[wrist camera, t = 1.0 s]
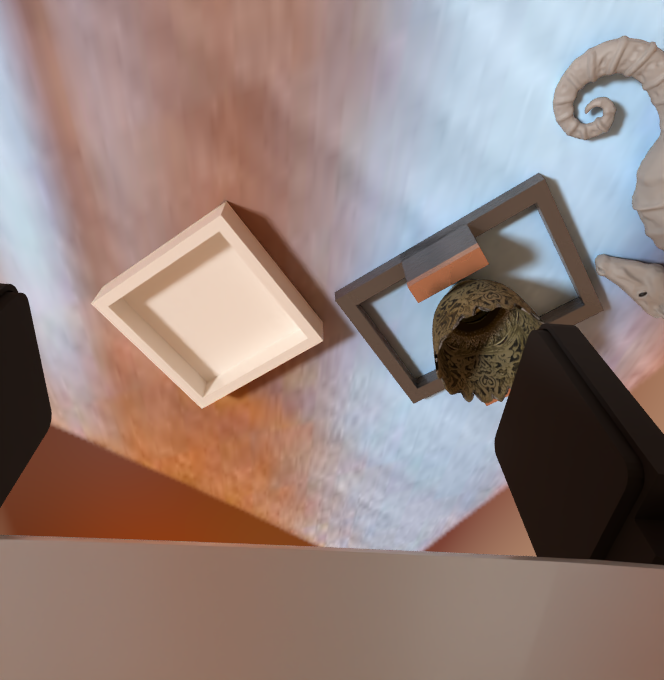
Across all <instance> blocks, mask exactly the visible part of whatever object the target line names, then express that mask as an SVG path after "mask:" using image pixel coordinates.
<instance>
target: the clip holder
mask: <svg viewBox="0 0 664 680" xmlns="http://www.w3.org/2000/svg"><path fill="white" fill-rule="evenodd" d="M533 204H535V205H536V207H537V209H538V212H539V214H540V216H541V218H542V220H543V222H544V224H545V226H546V229H547V231H548V233H549V235H550V237H551V239H552V241H553V244H554V246H555V248H556V250H557V252H558V254H559V256H560V258H561V261H562V263H563V265H564V267H565V269H566V271H567V273H568V275H569V278H570V280H571V282H572V284H573V286H574V288H575V290H576V292H577V295H578V298H576V299H574V300H572V301H570V302H568V303H566V304H564V305H562V306H560V307H558V308H556V309H554V310H552V311H550V312H548V313H546V314H544V315H542V316H541V317H539V318H540V319H541V320H543V321H544V322H545V323H550V324H564V325H575V324H577V323H579V322H581V321H583V320H585V319H587V318H589V317H591V316H593V315H595V314H597V313H599V312H601V311H603V308H602V306H601V303H600V301H599V299H598V297H597V295H596V292H595V290H594V288H593V286H592V283H591V281H590V279H589V277H588V274H587V272H586V270H585V268H584V266H583V263H582V261H581V259H580V257H579V254H578V252H577V250H576V248H575V245H574V243H573V241H572V239H571V237H570V234H569V232H568V230H567V228H566V225H565V223H564V221H563V219H562V216H561V214H560V212H559V210H558V208H557V205H556V203H555V201H554V199H553V196H552V194H551V192H550V190H549V187H548V185H547V183H546V181H545V179H544V178H543V177H542V176H541V175H540V174H539V173H538V174H536V175H534V176H533V177H531V178H529V179H528V180H526V181H524V182H522V183H521V184H519V185H517V186H516V187H514V188H512V189H511V190H509V191H507V192H505V193H504V194H502V195H500V196H499V197H497V198H495V199H493V200H492V201H490V202H488V203H487V204H485V205H483V206H482V207H480V208H478V209H476V210H475V211H473V212H471V213H470V214H468V215H466V216H464V217H463V218H461V219H459V220H458V221H456V222H454V223H453V224H451V225H449V226H447V227H446V228H444V229H442V230H441V231H439V232H437V233H436V234H434V235H432V236H430V237H429V238H427V239H425V240H424V241H422V242H420V243H418V244H417V245H415V246H413V247H412V248H410V249H408V250H407V251H405V252H403V253H401V254H400V255H398V256H396V257H395V258H393V259H391V260H389V261H388V262H386V263H384V264H383V265H381V266H379V267H378V268H376V269H374V270H372V271H371V272H369V273H367V274H366V275H364V276H362V277H360V278H359V279H357V280H355V281H354V282H352V283H350V284H349V285H347V286H345V287H343V288H342V289H340V290H338V291H337V292H335V301H336V302H337V303H338V305H339V306H340V307H341V309H342V310H343V311H344V313H345V314H346V315H347V317H348V318H349V319H350V321H351V322H352V323H353V324H354V326H355V327H356V328H357V330H358V331H359V332H360V334H361V335H362V336H363V338H364V339H365V340H366V342H367V343H368V344H369V345H370V347H371V348H372V349H373V351H374V352H375V353H376V355H377V356H378V357H379V359H380V360H381V361H382V363H383V364H384V365H385V367H386V368H387V369H388V370H389V372H390V373H391V374H392V376H393V377H394V378H395V380H396V381H397V382H398V384H399V385H400V386H401V388H402V389H403V390H404V391H405V393H406V394H407V395H408V397H409V398H410V399H411V401H412V402H413V403H416V402H418V401H420V400H422V399H424V398H426V397H428V396H430V395H432V394H434V393H436V392H438V391H440V390H442V389H444V388H445V387H444V386H443V384H442V381H441V379H438V377H437V374H436V370H434V371H432V372H430V373H428V374H426V375H424V376H422V377H420V378H418V379H416V380H415V379H414V377H413V376H412V375H411V373H410V372H409V370H408V369H407V368H406V366H405V365H404V364H403V362H402V361H401V360H400V358H399V357H398V355H397V354H396V353H395V351H394V350H393V349H392V347H391V346H390V345H389V343H388V342H387V341H386V339H385V338H384V336H383V335H382V334H381V332H380V331H379V330H378V328H377V327H376V326H375V324H374V323H373V321H372V320H371V319H370V317H369V316H368V315H367V313H366V312H365V311H364V309H363V308H362V306H361V305H360V303H361V302H363V301H365V300H367V299H368V298H370V297H372V296H374V295H376V294H377V293H379V292H381V291H383V290H384V289H386V288H388V287H390V286H391V285H393V284H395V283H397V282H398V281H400V280H402V279H404V278H405V277H406V280H407V286H408V288H409V290H410V291H411V293H412V294H413V296H414V297H415V299H416V300H417V302H418V303H419V302H421V301H423V300H425V299H427V298H429V297H430V296H432V295H434V294H436V293H438V292H439V291H441V290H443V289H445V288H447V287H448V286H450V285H452V284H454V283H456V282H458V281H459V280H461V279H463V278H465V277H467V276H468V275H470V274H472V273H474V272H476V271H478V270H479V269H481V268H483V267H485V266H487V265H488V264H489V263H488V261H487V259H486V258H485V256H484V254H483V252H482V250H481V249H480V247H479V245H478V243H477V242H476V240H475V237H477V236H479V235H481V234H482V233H484V232H486V231H488V230H489V229H491V228H493V227H495V226H496V225H498V224H500V223H502V222H503V221H505V220H507V219H509V218H510V217H512V216H514V215H516V214H518V213H519V212H521V211H523V210H525V209H526V208H528V207H530V206H532V205H533ZM508 390H509V391H508V394H506V396H505V397H507V396H509V393H510V390H511V389H508ZM496 401H498V400H497V399H493V401H491V402H490V403H485V404H486V406H488V405H490V404H492V403H494V402H496Z"/></svg>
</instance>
